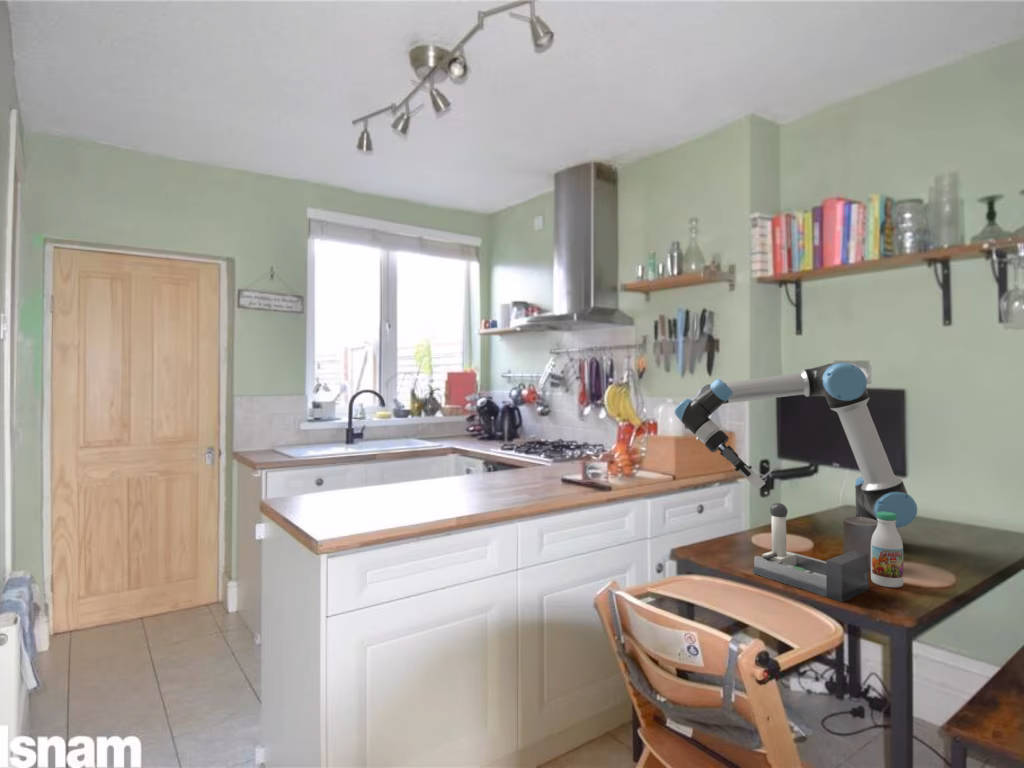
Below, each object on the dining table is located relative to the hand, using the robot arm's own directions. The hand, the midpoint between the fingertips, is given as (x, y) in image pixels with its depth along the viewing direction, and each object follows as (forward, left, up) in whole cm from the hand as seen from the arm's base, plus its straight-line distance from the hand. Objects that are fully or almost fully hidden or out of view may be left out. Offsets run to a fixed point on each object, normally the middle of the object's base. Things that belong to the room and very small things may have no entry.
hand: (760, 485), depth 185 cm
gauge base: (-9, +19, -24) cm, 32 cm away
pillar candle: (-29, +1, -24) cm, 38 cm away
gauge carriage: (-2, +13, -21) cm, 25 cm away
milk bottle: (-30, +17, -24) cm, 42 cm away
